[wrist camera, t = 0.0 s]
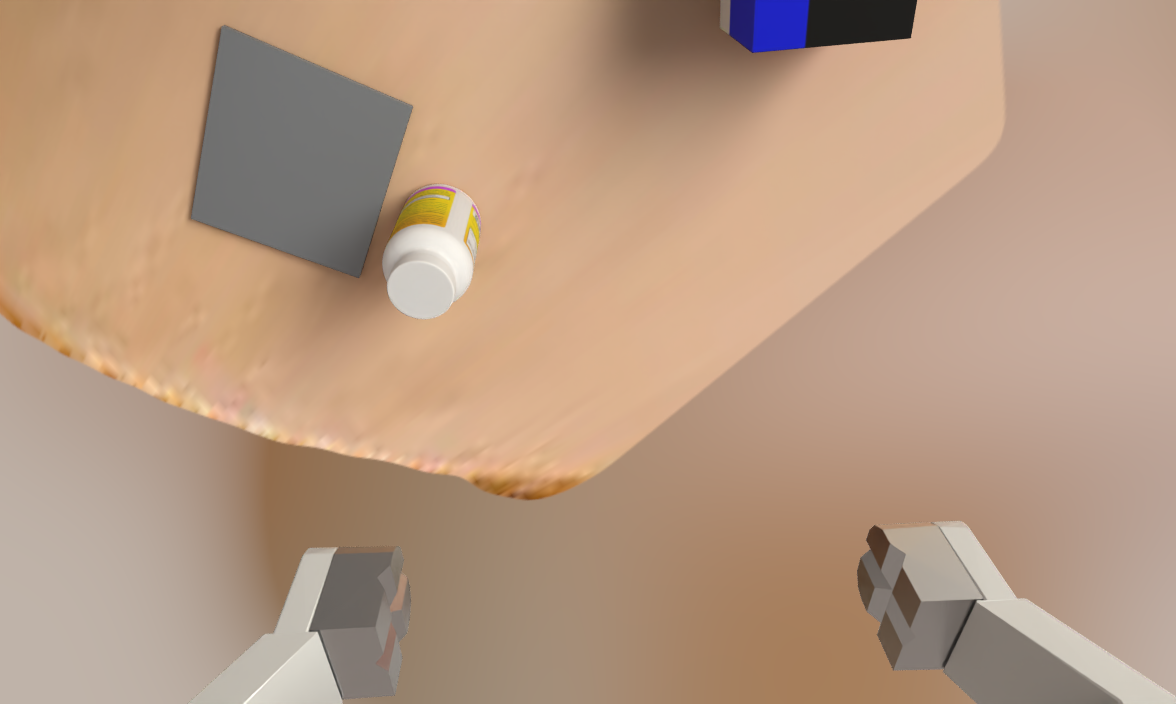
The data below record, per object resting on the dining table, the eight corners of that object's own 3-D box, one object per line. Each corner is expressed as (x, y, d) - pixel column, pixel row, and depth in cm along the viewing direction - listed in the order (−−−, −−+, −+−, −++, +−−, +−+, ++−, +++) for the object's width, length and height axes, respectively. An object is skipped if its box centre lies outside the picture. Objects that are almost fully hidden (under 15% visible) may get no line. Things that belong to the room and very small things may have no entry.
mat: (413, 106, 54) (412, 107, 53) (360, 275, 62) (359, 278, 61) (224, 25, 50) (222, 26, 50) (193, 216, 58) (190, 218, 57)
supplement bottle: (387, 218, 59) (351, 290, 48) (437, 164, 56) (412, 227, 46) (448, 268, 62) (426, 347, 51) (498, 219, 59) (487, 291, 49)
